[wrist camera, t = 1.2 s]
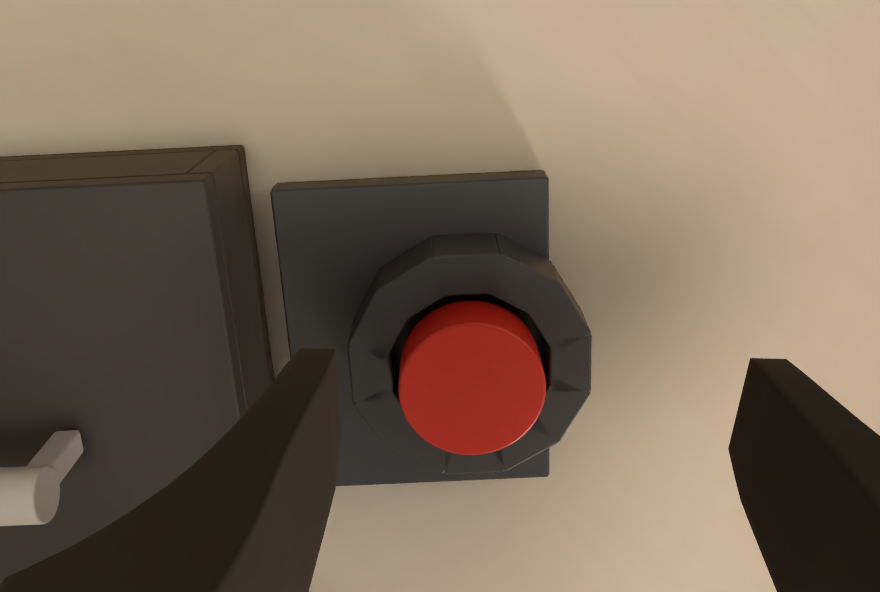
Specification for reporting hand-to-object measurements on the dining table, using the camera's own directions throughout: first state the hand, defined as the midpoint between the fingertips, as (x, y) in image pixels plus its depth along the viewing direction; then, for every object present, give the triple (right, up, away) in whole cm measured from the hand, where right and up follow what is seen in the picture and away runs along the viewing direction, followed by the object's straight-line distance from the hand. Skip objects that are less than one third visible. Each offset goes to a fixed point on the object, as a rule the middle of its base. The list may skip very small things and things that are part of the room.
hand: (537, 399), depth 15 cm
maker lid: (-14, -1, +9) cm, 16 cm away
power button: (-1, 0, +10) cm, 10 cm away
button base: (-2, +1, +12) cm, 12 cm away
